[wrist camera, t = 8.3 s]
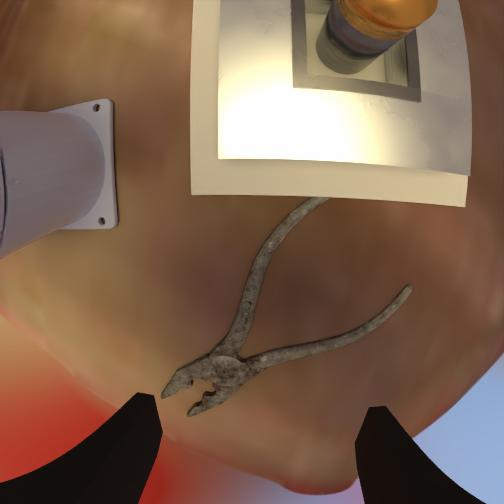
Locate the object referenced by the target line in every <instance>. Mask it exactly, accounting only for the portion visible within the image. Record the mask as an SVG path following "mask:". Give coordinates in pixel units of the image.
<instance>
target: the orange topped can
mask: <svg viewBox="0 0 504 504" xmlns="http://www.w3.org/2000/svg"><path fill="white" fill-rule="evenodd" d="M437 4H438V0H333V1H332V4H331V6H330V9H329V11H328V13H327V16H326V18H325V20H324V23H323V25H322V28H321V30H320V33H319V35H318V37H317V40H316V52H317V55H318V57H319V59H320V60H321V62H322V63H323V64H324V65H325V66H326V67H327V68H329V69H330V70H332V71H334V72H336V73H339V74H345V75H351V74H356V73H358V72H360V71H362V70H363V69H365V68H366V67H367V66H368V65H369V64H371V63H372V62H373V61H374V60H376V59H377V58H378V57H379V56H381V55H382V54H383V53H384V52H386V51H387V50H388V49H389V48H391V47H392V46H393V45H394V44H396V43H397V42H398V41H399V40H401V39H402V38H403V37H405V36H406V35H407V34H409V33H410V32H411V31H412V30H414V29H415V28H416V27H418V26H419V25H420V24H422V23H423V22H424V21H426V20H427V19H428V18H430V17H431V16H432V15H433V14H434V13H435V11H436V8H437Z"/></svg>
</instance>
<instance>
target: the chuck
mask: <svg viewBox="0 0 504 504" xmlns="http://www.w3.org/2000/svg"><path fill="white" fill-rule="evenodd" d="M332 1H333V0H220V29H219V84H218V159H238V158H255V159H302V160H324V161H341V162H355V163H368V164H379V165H389V166H399V167H408V168H416V169H424V170H432V171H439V172H446V173H453V174H459V175H466V176H470V169H471V147H472V108H471V87H470V74H469V63H468V55H467V47H466V40H465V33H464V27H463V21H462V16H461V11H460V6H459V2H458V0H438V4H437V8H436V11H435V13H434V14H433V15H432V16H431V17H430V18H428V19H427V20H426V21H424V22H423V23H422V24H420V25H419V26H418V27H416V28H415V29H414V30H412V31H411V32H410V33H409V34H407V35H406V36H405V37H403V38H402V39H401V40H399V41H398V42H397V43H396V44H394V45H393V46H392V47H391V48H389V49H388V50H387V51H386V52H384V65H385V83H383V82H377V81H370V80H362V79H354V78H345V77H335V76H323V75H308V74H307V41H306V15H305V13H313V14H325V15H327V13H328V11H329V9H330V6H331V4H332Z"/></svg>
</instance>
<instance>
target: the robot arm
mask: <svg viewBox="0 0 504 504" xmlns="http://www.w3.org/2000/svg"><path fill="white" fill-rule="evenodd" d="M97 105H100V109H99V111H96V107H97ZM101 218H104V219H105V224H103V223H102V221H101ZM117 223H118V217H117V205H116V192H115V176H114V153H113V103H112V101H111V100H109V99H99V100H94V101H89V102H85V103H80V104H76V105H72V106H68V107H64V108H60V109H56V110H52V111H48V112H37V111H11V110H0V259H1V258H3V257H5V256H7V255H8V254H10V253H12V252H14V251H16V250H18V249H20V248H22V247H24V246H26V245H28V244H30V243H32V242H34V241H36V240H38V239H40V238H42V237H44V236H46V235H48V234H50V233H52V232H54V231H56V230H67V229H112V228H114V227H115V226H116V225H117ZM162 433H163V431H162V427H161V423H160V419H159V415H158V411H157V406H156V402H155V398H154V395H150V394H144V393H139V392H137V393H136V394H135V395H134V396H133V397H132V398H131V399H130V400H129V401H127V402H126V403H125V404H124V405H123V406H122V407H121V408H120V409H119V410H118V411H117V412H116V413H115V414H114V415H113V416H112V417H111V418H109V419H108V420H107V421H106V422H105V423H104V424H103V425H101V426H100V427H99V428H98V429H97V430H96V431H95V432H93V433H92V434H91V435H90V436H88V437H87V438H86V439H84V440H83V441H82V442H81V443H79V444H78V445H77V446H76V447H74V448H72V449H71V450H70V451H68V452H67V453H65V454H63V455H62V456H61V457H59V458H57V459H55V460H54V461H52V462H50V463H48V464H46V465H44V466H42V467H41V468H38V469H36V470H34V471H32V472H30V473H27V474H25V475H22V476H19V477H17V478H14V479H12V480H8V481H5V482H2V483H0V504H138V502H139V500H140V497H141V495H142V492H143V489H144V487H145V485H146V482H147V480H148V477H149V475H150V472H151V470H152V467H153V464H154V462H155V459H156V457H157V453H158V450H159V445H160V441H161V437H162ZM355 452H356V463H357V470H358V475H359V479H360V484H361V489H362V493H363V497H364V502H365V504H486V503H484V502H482V501H481V500H479V499H477V498H476V497H474V496H473V495H471V494H470V493H468V492H467V491H465V490H464V489H463V488H461V487H460V486H459V485H457V484H456V483H455V482H454V481H453V480H452V479H450V478H449V477H448V476H447V475H445V474H444V473H443V472H442V471H441V470H440V469H439V468H438V467H437V466H436V465H435V464H434V463H433V462H432V461H431V460H430V459H429V458H428V457H427V455H426V454H425V453H424V452H423V451H422V450H421V449H420V448H419V446H418V445H417V444H416V443H415V442H414V441H413V439H412V438H411V437H410V436H409V435H408V433H407V432H406V431H405V430H404V428H403V427H402V426H401V425H400V423H399V422H398V421H397V420H396V418H395V417H394V416H393V415H392V413H391V412H390V411H389V410H388V408H387V407H386V406H379V407H369V409H368V411H367V414H366V416H365V419H364V422H363V424H362V427H361V429H360V432H359V434H358V436H357V439H356V441H355Z"/></svg>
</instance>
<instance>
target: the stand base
mask: <svg viewBox="0 0 504 504" xmlns="http://www.w3.org/2000/svg"><path fill="white" fill-rule="evenodd" d="M305 15H306V41H307V74H308V75H323V76H335V77H345V78H354V79H362V80H370V81H377V82H383V83H385V65H384V53H383V54H382V55H381V56H379V57H378V58H377V59H376V60H374V61H373V62H372V63H371V64H369V65H368V66H367V67H366V68H365V69H363V70H362V71H360V72H358V73H356V74H351V75H345V74H339V73H336V72H334V71H332V70H330V69H329V68H327V67H326V66H325V65H324V64H323V63H322V62H321V60H320V59H319V57H318V55H317V52H316V40H317V37H318V35H319V33H320V30H321V28H322V25H323V23H324V20H325V18H326V16H327V15H325V14H313V13H305ZM219 29H220V0H194V5H193V23H192V46H191V82H190V158H191V195H284V196H316V197H340V198H359V199H376V200H390V201H404V202H416V203H428V204H439V205H449V206H459V207H465V202H466V192H467V181H468V176H466V175H459V174H453V173H446V172H439V171H432V170H424V169H416V168H408V167H399V166H389V165H379V164H368V163H355V162H341V161H324V160H302V159H255V158H238V159H218V84H219Z"/></svg>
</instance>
